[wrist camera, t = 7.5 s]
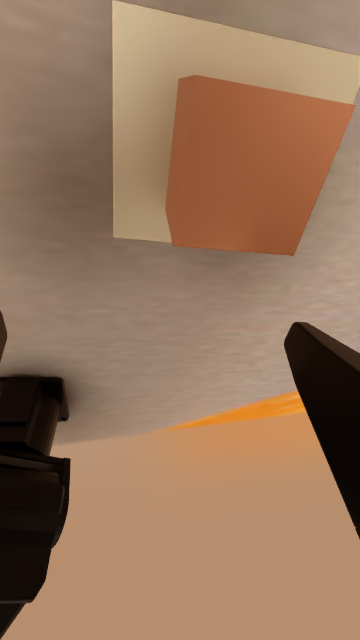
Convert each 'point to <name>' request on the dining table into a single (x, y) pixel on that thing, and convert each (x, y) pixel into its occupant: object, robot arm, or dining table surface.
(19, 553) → the robot arm
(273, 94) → the brick
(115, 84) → the cream flat block
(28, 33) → the dining table surface
